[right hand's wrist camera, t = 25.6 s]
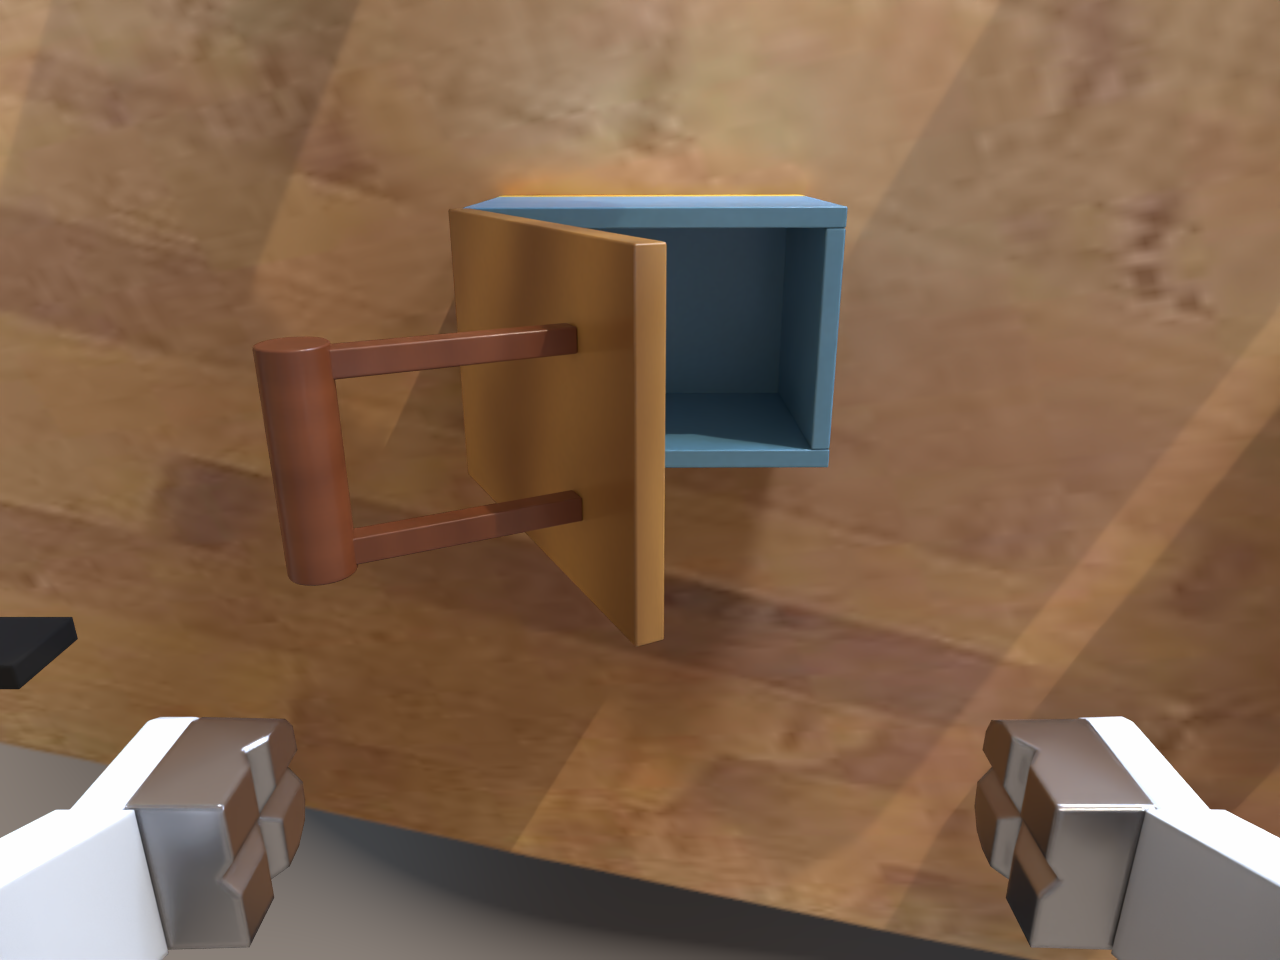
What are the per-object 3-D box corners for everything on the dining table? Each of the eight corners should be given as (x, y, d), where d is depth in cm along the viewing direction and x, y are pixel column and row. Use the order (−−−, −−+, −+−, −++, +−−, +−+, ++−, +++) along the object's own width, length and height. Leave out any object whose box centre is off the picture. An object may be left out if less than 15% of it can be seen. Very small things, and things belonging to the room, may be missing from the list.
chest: (801, 194, 41) (848, 206, 32) (789, 403, 44) (828, 467, 35) (501, 195, 41) (461, 207, 32) (512, 404, 44) (479, 468, 35)
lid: (668, 241, 19) (251, 262, 16) (664, 640, 23) (321, 732, 19) (470, 208, 31) (211, 215, 28) (487, 470, 35) (258, 507, 31)
